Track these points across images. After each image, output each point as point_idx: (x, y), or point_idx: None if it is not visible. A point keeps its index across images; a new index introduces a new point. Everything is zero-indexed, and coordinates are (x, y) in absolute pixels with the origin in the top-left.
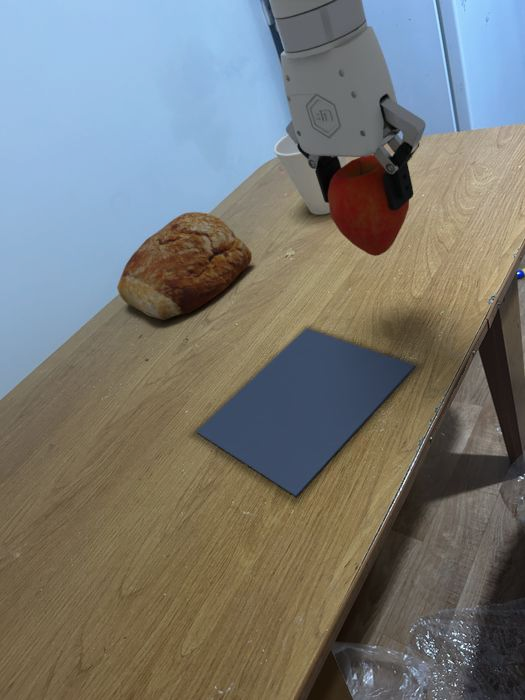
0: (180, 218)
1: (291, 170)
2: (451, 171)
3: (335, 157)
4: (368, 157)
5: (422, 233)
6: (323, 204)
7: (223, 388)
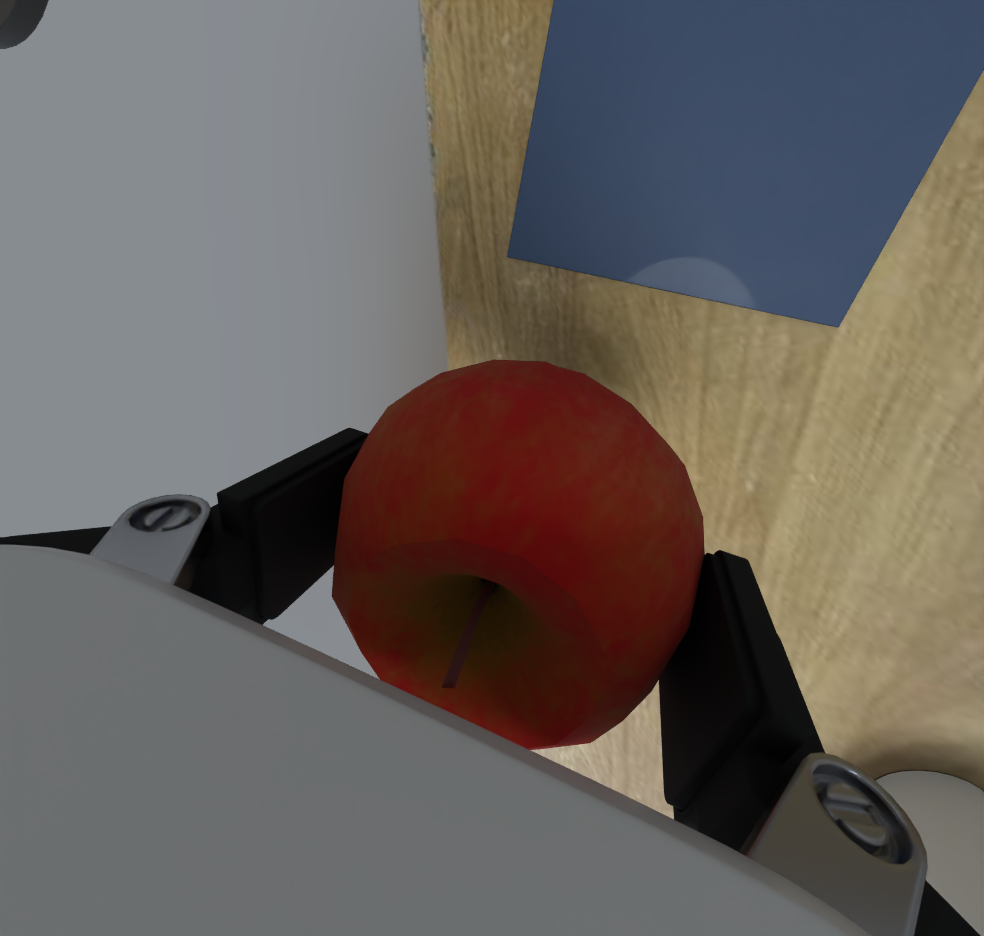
0: None
1: None
2: (633, 789)
3: (683, 819)
4: None
5: None
6: (939, 798)
7: None
